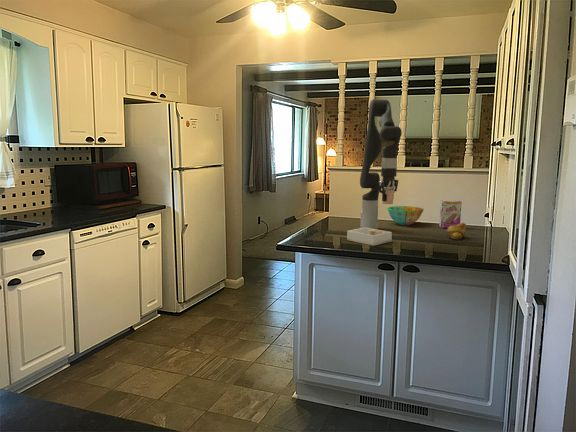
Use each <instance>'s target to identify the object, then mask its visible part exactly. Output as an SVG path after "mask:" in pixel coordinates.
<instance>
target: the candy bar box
mask: <svg viewBox="0 0 576 432" xmlns="http://www.w3.org/2000/svg"><path fill="white" fill-rule="evenodd" d="M439 208H440V211H439V228H440V229H448V228H449V227H450V226H453V225H457V224H460V223H461V218H462V217H461V214H462V201H461V200H450V199H449V200H448V199H447V200H446V199H445V200H443V199H442V200H440V207H439Z"/></svg>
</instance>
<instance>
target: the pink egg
mask: <svg viewBox="0 0 576 432" xmlns="http://www.w3.org/2000/svg"><path fill="white" fill-rule="evenodd" d="M382 204H383V205H393V204H394V198H393V190H392V189H389V190H388V191H387V201H386V202H384V201H382Z"/></svg>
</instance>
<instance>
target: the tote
mask: <svg viewBox="0 0 576 432" xmlns="http://www.w3.org/2000/svg"><path fill="white" fill-rule="evenodd" d="M369 230H374V229H372V228H366V227H365V228H355V229H350V230H349V229H348V230H346V236H347V237H346V240H347V241H350V242H355V243H359V244H363V245H364V244H365V245H367V246H368V245H369V246H378V245H382V244H387V243H391V242H392V237H393V236H392V234H393V232H392V231H389V230H384V229H383V230H381V229H380V230H381V231H383V232H382V234H378V235H369ZM376 230H378V228H377V229H376Z"/></svg>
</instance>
